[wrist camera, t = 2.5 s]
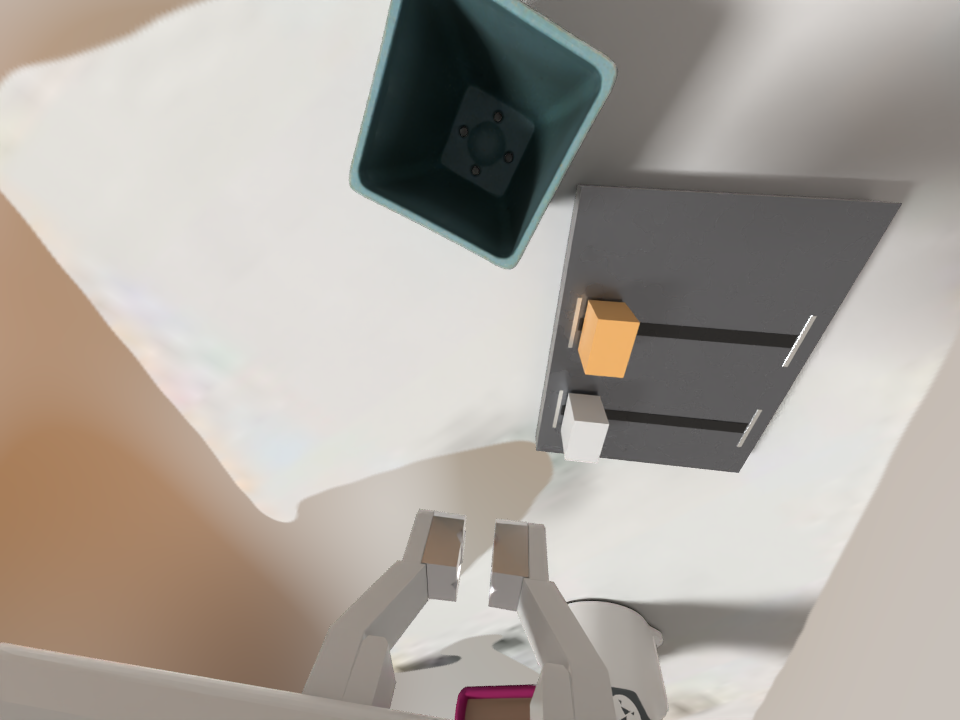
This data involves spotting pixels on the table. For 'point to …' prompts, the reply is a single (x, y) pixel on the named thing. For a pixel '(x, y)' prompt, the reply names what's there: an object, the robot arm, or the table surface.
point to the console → (701, 312)
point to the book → (495, 702)
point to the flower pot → (476, 119)
